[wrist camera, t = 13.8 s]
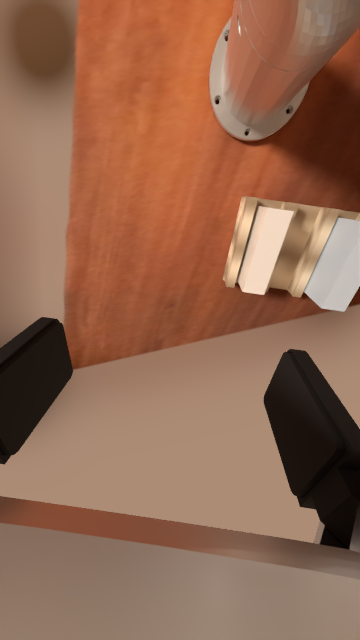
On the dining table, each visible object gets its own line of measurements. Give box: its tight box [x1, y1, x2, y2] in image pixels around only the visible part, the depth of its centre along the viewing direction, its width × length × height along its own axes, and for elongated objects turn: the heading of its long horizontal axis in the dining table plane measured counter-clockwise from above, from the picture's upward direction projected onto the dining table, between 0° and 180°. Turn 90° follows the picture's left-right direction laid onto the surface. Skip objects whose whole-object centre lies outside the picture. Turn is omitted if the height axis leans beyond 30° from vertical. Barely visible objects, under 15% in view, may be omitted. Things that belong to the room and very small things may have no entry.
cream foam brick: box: [237, 206, 294, 295], centre depth 34 cm, size 12×4×7 cm, turn 173°
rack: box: [223, 196, 360, 297], centre depth 36 cm, size 14×20×4 cm
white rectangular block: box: [304, 217, 360, 312], centre depth 33 cm, size 12×4×9 cm, turn 173°
